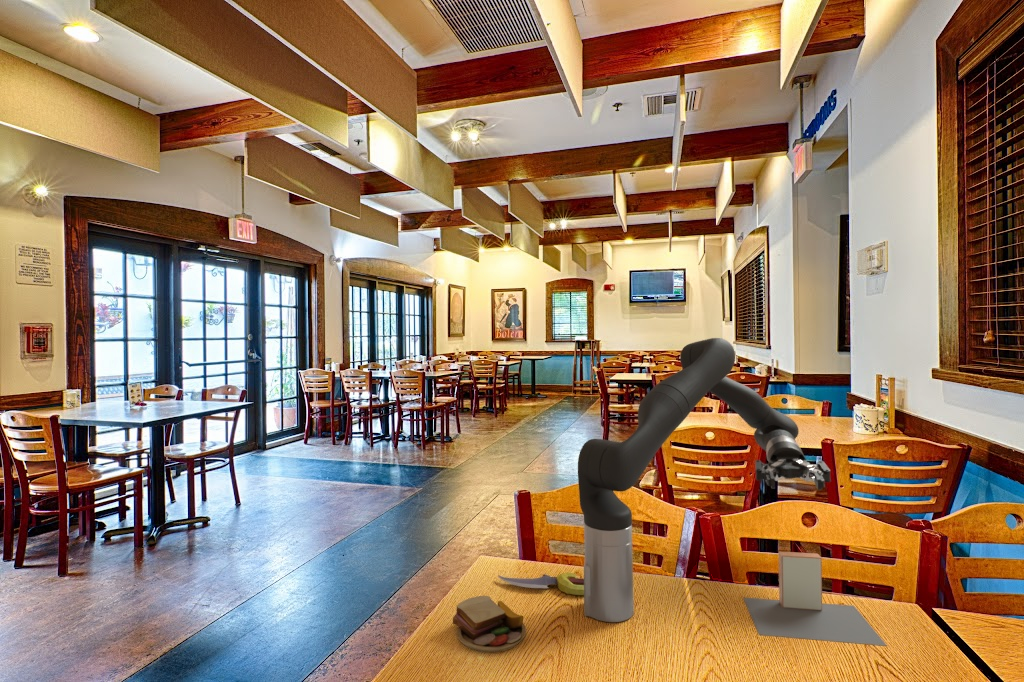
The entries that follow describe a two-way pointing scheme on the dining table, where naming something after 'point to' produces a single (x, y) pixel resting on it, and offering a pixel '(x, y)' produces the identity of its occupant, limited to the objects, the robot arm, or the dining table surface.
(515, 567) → the dining table surface
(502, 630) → the toy sandwich meal
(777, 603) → the mat
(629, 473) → the robot arm
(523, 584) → the knife
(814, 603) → the tile
